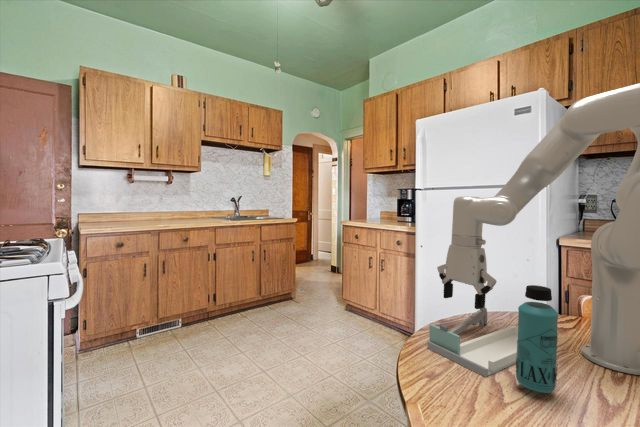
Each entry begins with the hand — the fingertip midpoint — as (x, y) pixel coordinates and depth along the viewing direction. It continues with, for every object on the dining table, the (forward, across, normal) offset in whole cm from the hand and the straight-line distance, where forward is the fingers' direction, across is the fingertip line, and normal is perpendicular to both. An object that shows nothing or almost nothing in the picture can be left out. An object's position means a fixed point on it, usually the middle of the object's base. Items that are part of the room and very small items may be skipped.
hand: (462, 302), depth 87 cm
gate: (+8, -6, +15) cm, 18 cm away
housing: (+8, -10, +3) cm, 13 cm away
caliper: (+8, -1, 0) cm, 9 cm away
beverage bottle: (+8, -25, +13) cm, 29 cm away
